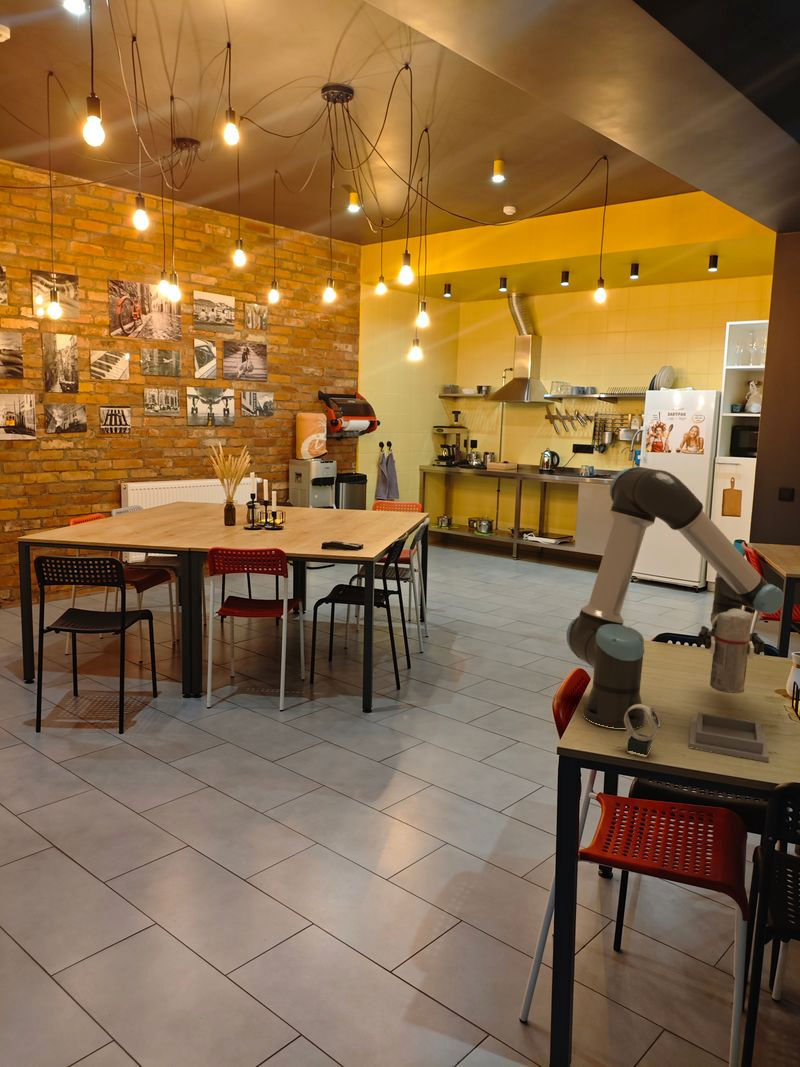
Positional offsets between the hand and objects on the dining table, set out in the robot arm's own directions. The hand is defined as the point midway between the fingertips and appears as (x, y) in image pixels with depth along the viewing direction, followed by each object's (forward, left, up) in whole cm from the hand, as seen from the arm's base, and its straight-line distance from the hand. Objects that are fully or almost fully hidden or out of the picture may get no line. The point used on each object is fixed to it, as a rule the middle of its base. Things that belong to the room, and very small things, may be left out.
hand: (732, 650), depth 188 cm
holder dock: (+1, -2, -22) cm, 22 cm away
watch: (-18, -18, -22) cm, 34 cm away
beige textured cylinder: (0, +5, -11) cm, 12 cm away
